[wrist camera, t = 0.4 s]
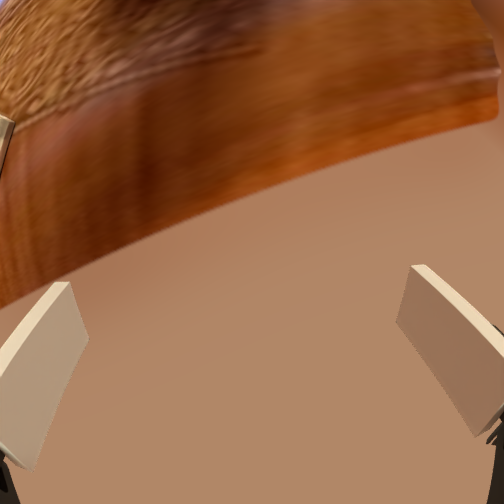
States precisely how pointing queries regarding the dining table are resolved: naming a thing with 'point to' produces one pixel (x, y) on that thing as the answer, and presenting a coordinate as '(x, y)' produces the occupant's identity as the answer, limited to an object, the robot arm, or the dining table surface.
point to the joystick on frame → (4, 136)
